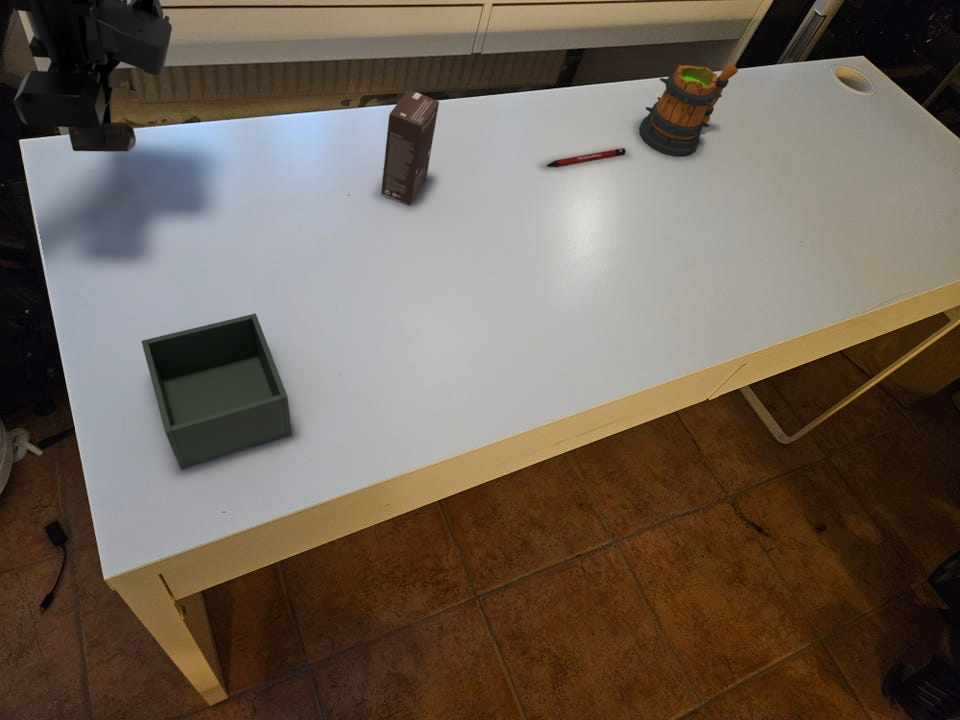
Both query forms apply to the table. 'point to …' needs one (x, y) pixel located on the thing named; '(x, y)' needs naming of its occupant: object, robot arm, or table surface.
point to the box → (408, 146)
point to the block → (115, 135)
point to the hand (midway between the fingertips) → (102, 133)
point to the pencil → (587, 157)
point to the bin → (217, 389)
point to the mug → (684, 109)
